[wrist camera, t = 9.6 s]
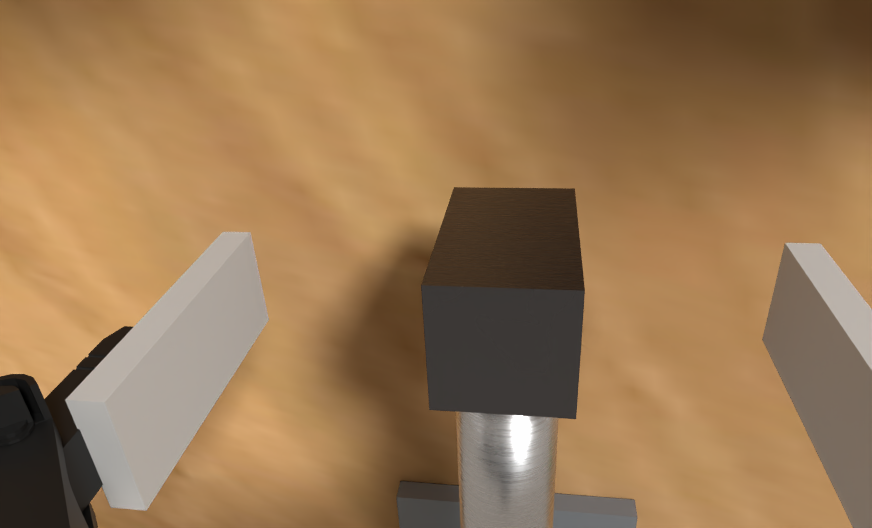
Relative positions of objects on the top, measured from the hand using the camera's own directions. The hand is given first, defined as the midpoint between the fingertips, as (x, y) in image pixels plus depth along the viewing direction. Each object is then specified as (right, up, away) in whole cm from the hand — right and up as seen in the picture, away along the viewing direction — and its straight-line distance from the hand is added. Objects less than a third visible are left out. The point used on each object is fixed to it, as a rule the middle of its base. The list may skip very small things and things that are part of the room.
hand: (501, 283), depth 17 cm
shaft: (+1, -7, +8) cm, 11 cm away
